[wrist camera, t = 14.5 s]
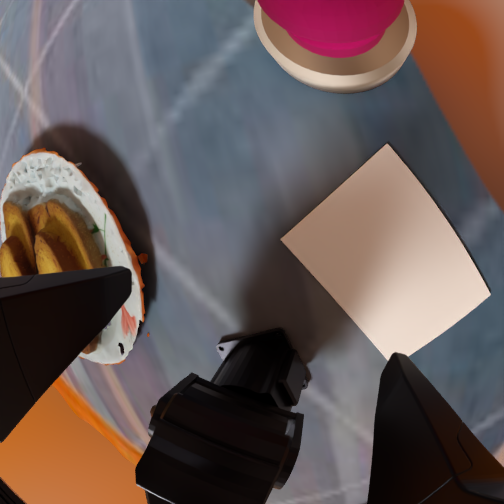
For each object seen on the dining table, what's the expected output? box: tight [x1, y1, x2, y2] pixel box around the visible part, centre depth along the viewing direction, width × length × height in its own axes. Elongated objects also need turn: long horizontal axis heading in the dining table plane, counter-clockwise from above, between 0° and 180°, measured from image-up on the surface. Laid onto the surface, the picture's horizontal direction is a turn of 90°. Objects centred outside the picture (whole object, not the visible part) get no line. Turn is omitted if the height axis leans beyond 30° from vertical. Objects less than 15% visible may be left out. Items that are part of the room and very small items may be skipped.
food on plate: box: [0, 147, 149, 365], centre depth 27 cm, size 26×26×7 cm
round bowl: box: [254, 0, 417, 94], centre depth 14 cm, size 10×10×3 cm
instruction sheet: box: [280, 144, 491, 360], centre depth 20 cm, size 10×14×1 cm
